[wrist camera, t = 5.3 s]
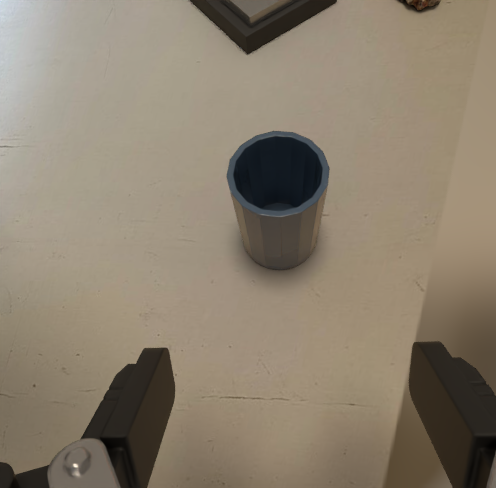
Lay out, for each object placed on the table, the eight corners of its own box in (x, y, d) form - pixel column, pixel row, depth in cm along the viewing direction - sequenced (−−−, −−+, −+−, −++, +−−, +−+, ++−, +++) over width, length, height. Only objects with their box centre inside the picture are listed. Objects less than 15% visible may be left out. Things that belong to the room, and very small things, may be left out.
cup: (272, 284, 29) (266, 236, 21) (228, 229, 31) (208, 165, 23) (332, 241, 30) (350, 178, 22) (285, 190, 32) (286, 115, 24)
